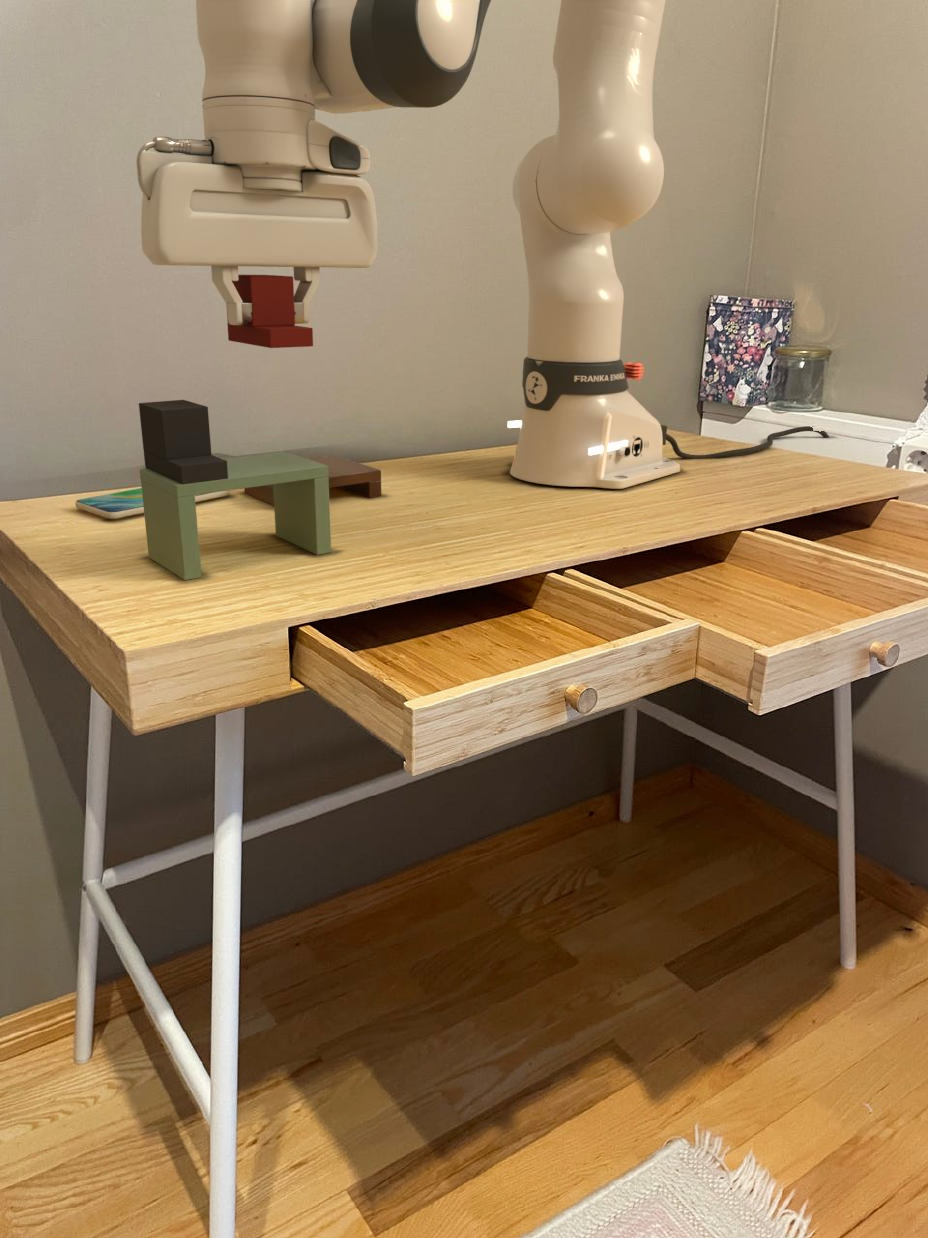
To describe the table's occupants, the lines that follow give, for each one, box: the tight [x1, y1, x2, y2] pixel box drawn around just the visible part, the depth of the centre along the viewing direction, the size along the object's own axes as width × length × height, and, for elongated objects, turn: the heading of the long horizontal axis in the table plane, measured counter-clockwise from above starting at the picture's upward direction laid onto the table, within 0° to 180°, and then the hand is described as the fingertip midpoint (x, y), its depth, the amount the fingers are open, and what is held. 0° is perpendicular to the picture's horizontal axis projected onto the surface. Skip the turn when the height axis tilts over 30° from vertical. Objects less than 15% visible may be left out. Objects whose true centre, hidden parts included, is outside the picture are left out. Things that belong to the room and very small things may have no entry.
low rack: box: [243, 455, 382, 506], centre depth 109 cm, size 12×10×3 cm
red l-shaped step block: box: [225, 274, 314, 349], centre depth 83 cm, size 4×8×6 cm, turn 38°
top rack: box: [139, 451, 332, 581], centre depth 86 cm, size 14×8×8 cm, turn 128°
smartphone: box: [74, 487, 230, 520], centre depth 104 cm, size 7×1×15 cm
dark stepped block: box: [138, 399, 228, 484], centre depth 81 cm, size 4×8×6 cm, turn 38°
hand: (269, 324), depth 83 cm, fingers closed on red l-shaped step block, 4 cm apart
